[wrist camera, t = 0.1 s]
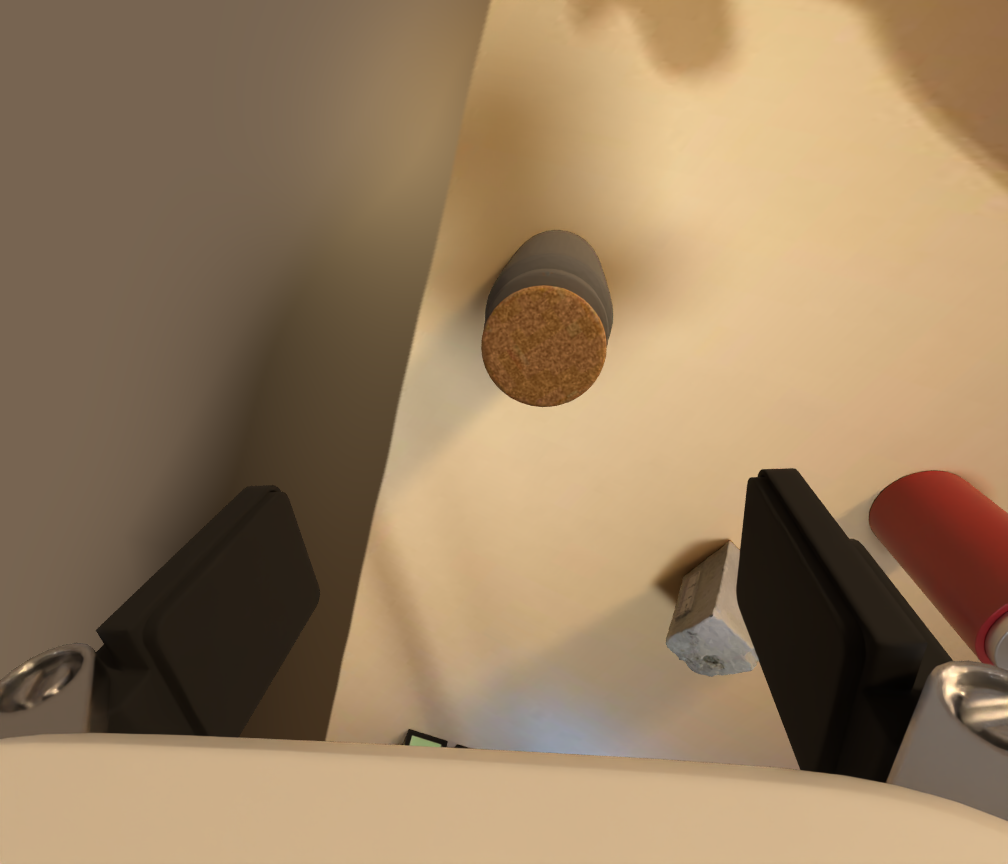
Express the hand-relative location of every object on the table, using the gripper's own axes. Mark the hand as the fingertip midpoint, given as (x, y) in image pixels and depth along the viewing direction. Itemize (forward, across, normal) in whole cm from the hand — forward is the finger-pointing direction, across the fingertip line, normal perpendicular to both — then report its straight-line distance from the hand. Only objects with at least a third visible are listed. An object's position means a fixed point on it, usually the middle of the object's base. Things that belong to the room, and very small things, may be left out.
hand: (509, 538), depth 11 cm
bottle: (+26, 0, -1) cm, 26 cm away
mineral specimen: (+26, -11, +24) cm, 36 cm away
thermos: (+25, -25, +18) cm, 40 cm away
